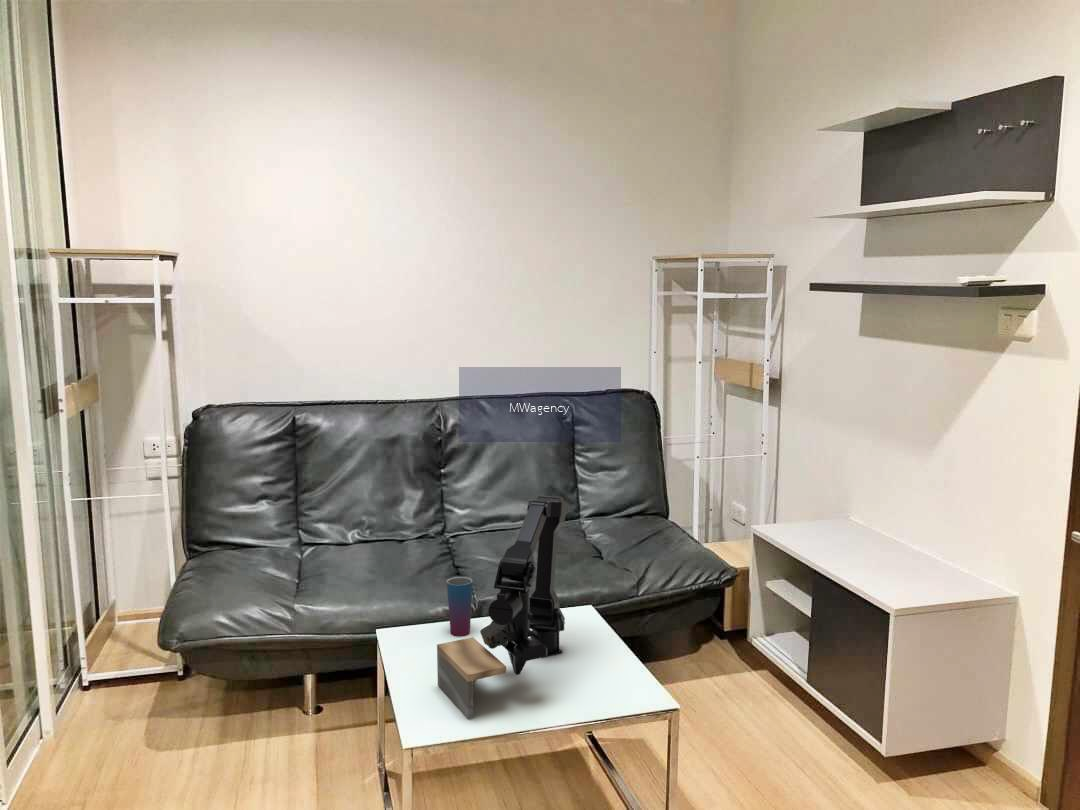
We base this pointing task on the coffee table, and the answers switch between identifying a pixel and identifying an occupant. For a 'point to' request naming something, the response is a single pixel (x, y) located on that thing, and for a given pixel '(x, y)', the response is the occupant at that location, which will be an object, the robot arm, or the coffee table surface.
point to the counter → (464, 670)
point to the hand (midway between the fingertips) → (517, 674)
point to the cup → (459, 605)
